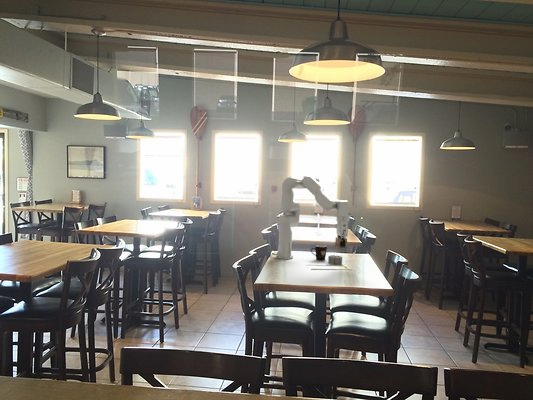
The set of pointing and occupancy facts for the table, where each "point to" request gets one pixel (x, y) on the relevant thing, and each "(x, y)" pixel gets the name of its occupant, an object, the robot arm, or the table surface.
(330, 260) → the dome ring
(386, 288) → the table surface
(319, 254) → the coffee mug
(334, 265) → the lane
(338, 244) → the die
